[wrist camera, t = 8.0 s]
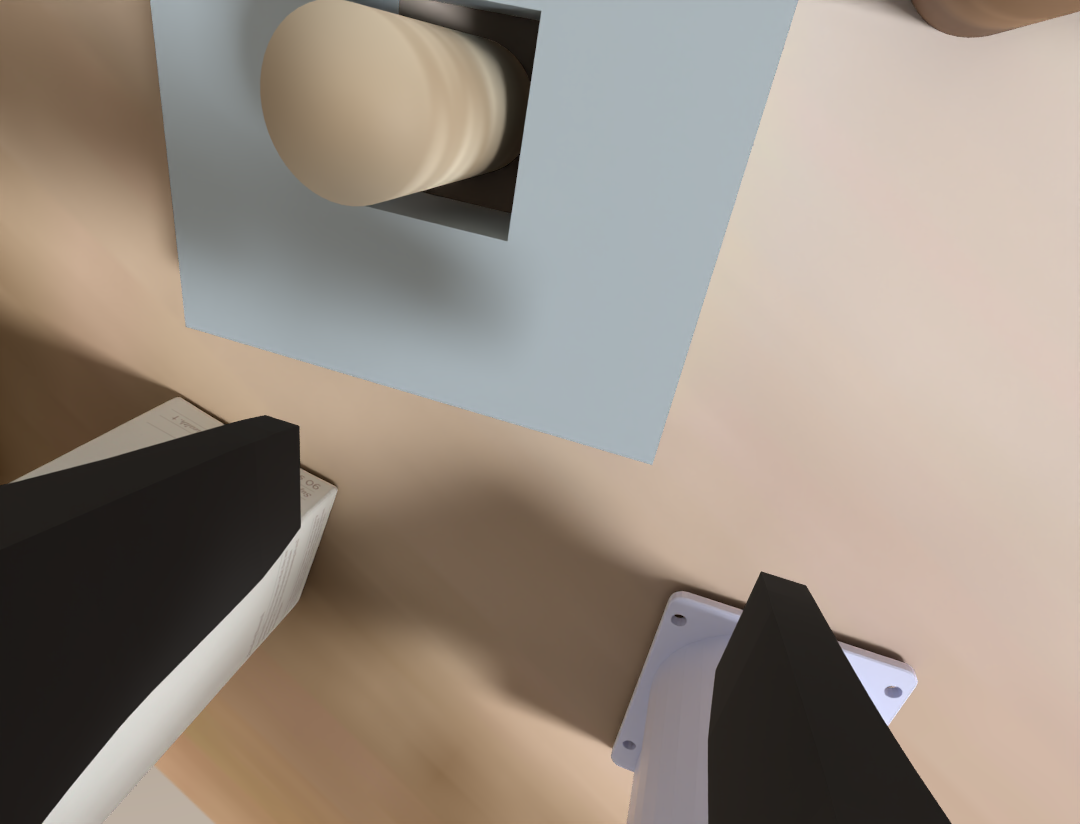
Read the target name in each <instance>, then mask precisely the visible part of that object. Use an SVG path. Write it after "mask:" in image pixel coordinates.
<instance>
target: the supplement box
mask: <svg viewBox="0 0 1080 824" xmlns="http://www.w3.org/2000/svg"><path fill="white" fill-rule="evenodd" d="M222 425H225V424H223V423H221V422H220V421H218V420H216V419H215V418H213V417H211V416H210V415H208V414H206V413H205V412H203V411H202V410H200V409H198V408H197V407H195V406H194V405H192V404H191V403H189V402H187V401H186V400H184V399H182V398H181V397H175V398H173V399H171V400H169V401H167V402H165V403H163V404H161V405H159V406H157V407H155V408H153V409H151V410H149V411H147V412H145V413H143V414H142V415H140V416H138V417H136V418H134V419H132V420H130V421H128V422H126V423H124V424H122V425H120V426H118V427H116V428H114V429H112V430H110V431H109V432H107V433H105V434H103V435H101V436H99V437H97V438H95V439H93V440H91V441H89V442H87V443H85V444H83V445H81V446H79V447H77V448H75V449H74V450H72V451H70V452H68V453H66V454H64V455H62V456H60V457H58V458H56V459H55V460H53V461H51V462H49V463H47V464H45V465H43V466H41V467H39V468H37V469H35V470H33V471H31V472H29V473H27V474H25V475H23V476H22V477H20V478H18V479H16V480H14V481H12V482H10V483H13V482H17V481H21V480H25V479H29V478H33V477H37V476H41V475H45V474H48V473H52V472H56V471H60V470H64V469H68V468H72V467H76V466H80V465H83V464H87V463H91V462H95V461H99V460H103V459H107V458H110V457H114V456H117V455H121V454H124V453H128V452H131V451H135V450H138V449H142V448H145V447H149V446H152V445H156V444H159V443H163V442H166V441H170V440H173V439H177V438H180V437H183V436H187V435H190V434H194V433H197V432H201V431H204V430H208V429H211V428H215V427H218V426H222ZM336 494H337V487H336V486H334V485H332V484H330V483H328V482H326V481H324V480H322V479H320V478H318V477H316V476H314V475H312V474H310V473H308V472H307V471H305V470H303V469H301V468H300V496H301V528H300V529H299V531H298V532H297V534H296V535H295V536H294V538H293V539H292V541H291V542H290V543H289V545H288V546H287V547H286V549H285V550H284V552H283V553H282V554H281V556H280V557H279V558H278V560H277V561H276V562H275V563H274V565H273V566H272V567H271V569H270V570H269V571H268V572H267V574H266V575H265V576H264V578H263V579H262V580H261V581H260V582H259V583H258V584H257V585H256V586H255V587H254V588H253V589H252V590H251V592H250V593H249V594H248V595H247V596H246V597H245V598H244V599H243V600H242V601H241V602H240V603H239V604H238V605H237V606H236V607H235V608H234V609H233V610H232V611H231V612H230V613H229V614H228V615H227V616H226V617H225V618H224V619H223V620H222V621H221V622H220V623H219V624H218V626H217V627H216V628H215V629H214V630H213V631H212V632H211V633H210V634H209V635H208V636H207V637H206V638H205V639H204V640H203V641H202V642H201V643H200V644H199V645H198V646H197V647H196V648H195V649H194V650H193V651H192V652H191V653H190V654H189V655H188V656H187V657H186V658H185V659H184V660H183V661H182V662H181V663H180V664H179V665H178V666H177V667H176V668H175V669H174V670H173V671H172V672H171V673H170V674H169V675H168V676H167V677H166V678H165V679H164V680H163V681H162V682H161V683H160V684H159V685H158V686H157V687H156V688H155V689H154V690H153V691H152V692H151V693H150V695H149V696H148V697H147V698H146V699H145V700H144V701H143V702H142V703H141V704H140V705H139V707H138V708H137V709H136V710H135V711H134V712H133V713H132V714H131V715H130V716H129V717H128V719H127V720H126V721H125V722H124V723H123V724H122V725H121V726H120V728H119V729H118V730H117V731H116V733H115V734H114V735H113V736H112V737H111V739H110V740H109V741H108V742H107V743H106V745H105V746H104V747H103V748H102V750H101V751H100V752H99V753H98V754H97V756H96V757H95V758H94V759H93V760H92V762H91V763H90V764H89V765H88V767H87V768H86V769H85V770H84V771H83V773H82V774H81V775H80V776H79V778H78V779H77V780H76V781H75V782H74V784H73V785H72V786H71V787H70V788H69V790H68V791H67V792H66V794H65V795H64V796H63V797H62V799H61V800H60V801H59V803H58V804H57V805H56V806H55V808H54V809H53V810H52V811H51V813H50V814H49V815H48V817H47V818H46V819H45V820H44V822H43V823H42V824H102V823H103V822H104V821H105V820H106V819H107V818H108V816H109V815H110V814H111V813H112V812H113V811H114V810H115V809H116V807H117V806H118V805H119V804H120V803H121V802H122V801H123V799H124V798H125V797H126V796H127V795H128V794H129V793H130V792H131V790H132V789H133V788H134V787H135V786H136V785H137V784H138V782H139V781H140V780H141V779H142V778H143V777H144V776H145V775H146V773H147V772H148V771H149V770H150V769H151V768H152V767H153V766H154V764H155V763H156V762H157V761H158V760H159V759H160V758H161V757H162V755H163V754H164V753H165V752H166V751H167V750H168V749H169V747H170V746H171V745H172V744H173V743H174V742H175V741H176V740H177V738H178V737H179V736H180V735H181V734H182V733H183V732H184V731H185V729H186V728H187V727H188V726H189V725H190V724H191V723H192V721H193V720H194V719H195V718H196V717H197V716H198V715H199V714H200V712H201V711H202V710H203V709H204V708H205V707H206V706H207V704H208V703H209V702H210V701H211V700H212V699H213V698H214V697H215V695H216V694H217V693H218V692H219V691H220V690H221V689H222V687H223V686H224V685H225V684H226V683H227V682H228V681H229V680H230V678H231V677H232V676H233V675H234V674H235V673H236V672H237V671H238V669H239V668H240V667H241V666H242V665H243V664H244V663H245V662H246V660H247V659H248V658H249V657H250V656H251V655H252V654H253V652H254V651H255V650H256V649H257V648H258V647H259V646H260V645H261V643H262V642H263V641H264V640H265V639H266V638H267V637H268V636H269V634H270V633H271V632H272V631H273V630H274V629H275V628H276V627H277V625H278V624H279V623H280V622H281V621H282V620H283V619H284V618H285V616H286V615H287V614H288V613H289V612H290V611H291V610H292V608H293V607H294V606H295V605H296V604H297V602H298V601H299V599H300V596H301V593H302V590H303V588H304V585H305V583H306V579H307V577H308V574H309V571H310V568H311V565H312V563H313V560H314V557H315V554H316V551H317V549H318V546H319V543H320V540H321V537H322V535H323V532H324V529H325V526H326V523H327V520H328V517H329V514H330V511H331V509H332V506H333V503H334V500H335V497H336Z"/></svg>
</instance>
